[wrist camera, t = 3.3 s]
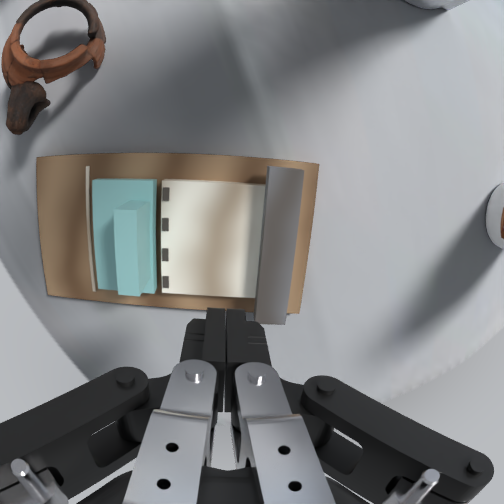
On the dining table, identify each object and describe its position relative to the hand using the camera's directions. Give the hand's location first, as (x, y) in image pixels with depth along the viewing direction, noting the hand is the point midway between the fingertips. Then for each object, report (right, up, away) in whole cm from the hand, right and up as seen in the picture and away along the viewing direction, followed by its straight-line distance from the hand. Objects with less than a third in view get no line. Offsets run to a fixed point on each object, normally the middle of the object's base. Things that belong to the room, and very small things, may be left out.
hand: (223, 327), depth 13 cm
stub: (-9, +4, +12) cm, 15 cm away
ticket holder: (-5, +5, +13) cm, 15 cm away
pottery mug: (-16, +19, +8) cm, 26 cm away
